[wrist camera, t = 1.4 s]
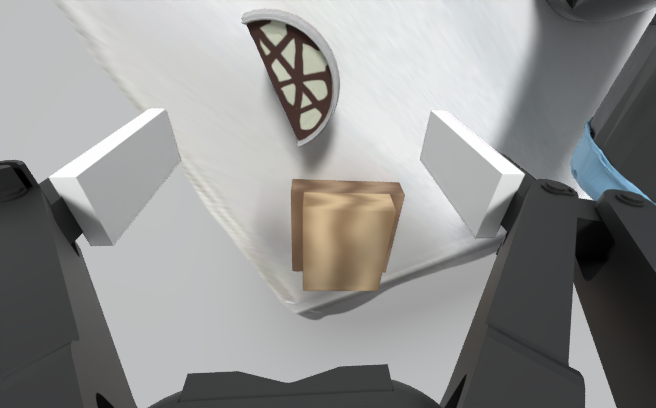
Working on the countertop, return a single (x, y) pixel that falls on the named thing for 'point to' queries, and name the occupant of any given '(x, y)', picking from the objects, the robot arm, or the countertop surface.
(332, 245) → the tower top
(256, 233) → the countertop surface
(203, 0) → the countertop surface
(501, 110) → the countertop surface
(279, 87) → the food container
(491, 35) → the countertop surface
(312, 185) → the tower base
